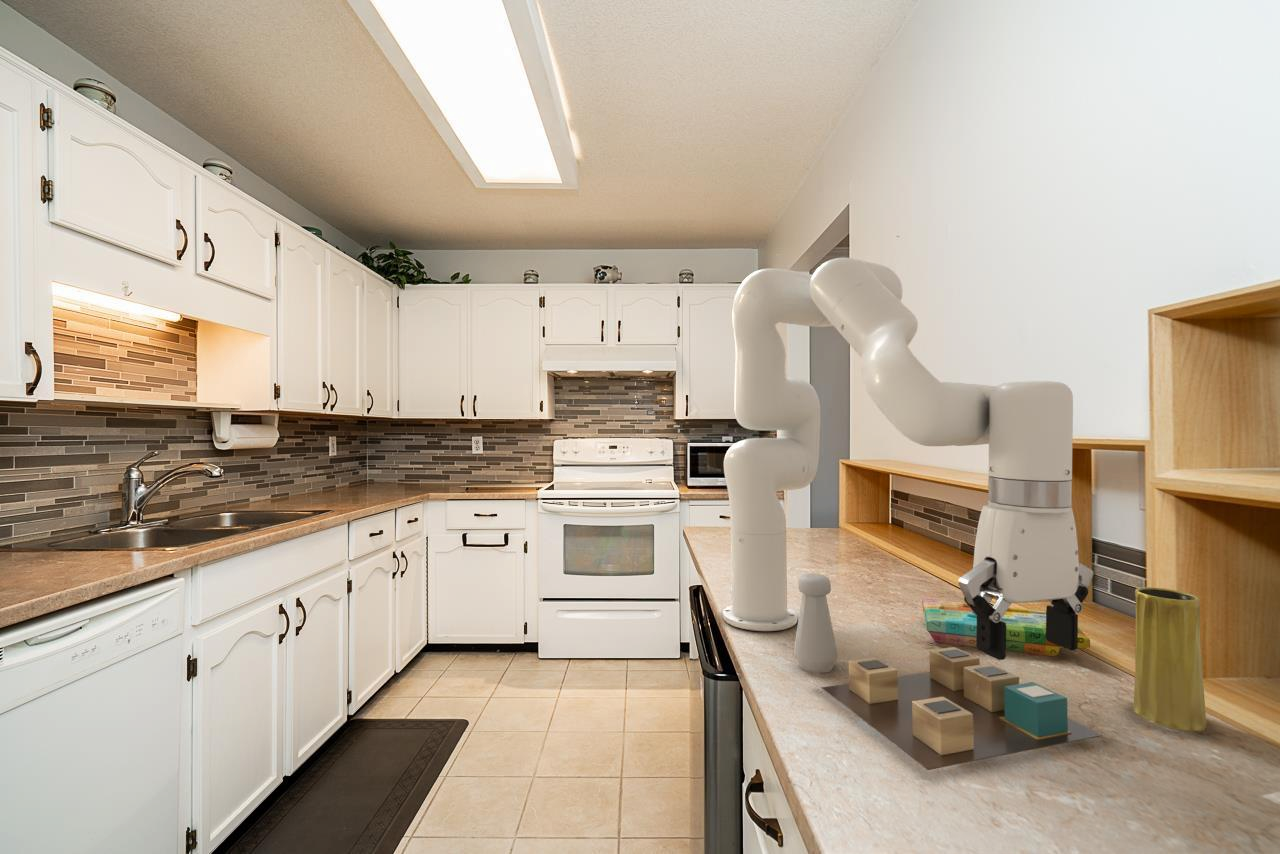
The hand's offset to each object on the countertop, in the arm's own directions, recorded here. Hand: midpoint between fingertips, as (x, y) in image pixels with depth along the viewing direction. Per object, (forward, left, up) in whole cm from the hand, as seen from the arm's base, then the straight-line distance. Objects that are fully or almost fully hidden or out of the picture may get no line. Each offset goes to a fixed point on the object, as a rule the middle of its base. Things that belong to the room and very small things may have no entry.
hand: (1026, 650), depth 62 cm
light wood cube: (-10, -12, -8) cm, 18 cm away
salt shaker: (-20, -14, -9) cm, 26 cm away
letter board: (-5, -6, -9) cm, 12 cm away
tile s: (+1, 0, -8) cm, 8 cm away
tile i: (-10, 0, -8) cm, 13 cm away
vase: (+3, +16, -9) cm, 19 cm away
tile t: (-5, 0, -8) cm, 9 cm away
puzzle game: (-21, +18, -9) cm, 29 cm away
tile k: (+1, -12, -8) cm, 14 cm away
